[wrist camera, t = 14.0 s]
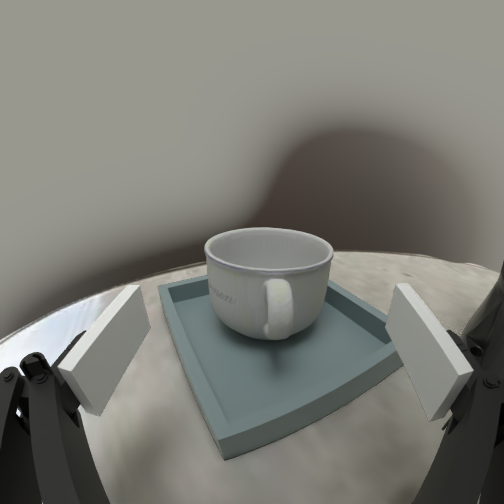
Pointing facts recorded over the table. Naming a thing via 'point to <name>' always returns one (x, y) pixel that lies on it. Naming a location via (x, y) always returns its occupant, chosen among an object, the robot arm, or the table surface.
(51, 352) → the table surface
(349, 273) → the table surface
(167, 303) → the tray
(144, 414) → the table surface
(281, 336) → the teacup
